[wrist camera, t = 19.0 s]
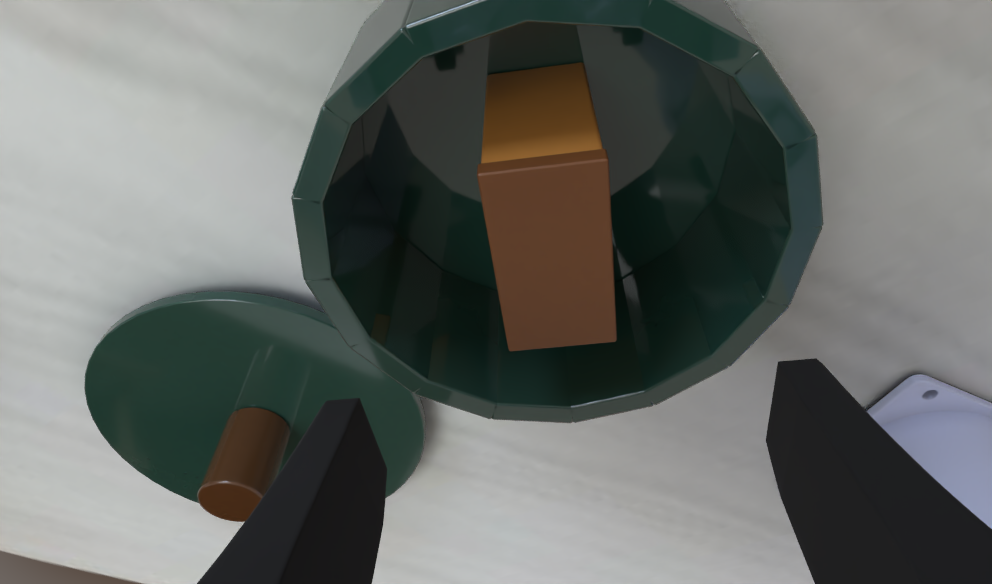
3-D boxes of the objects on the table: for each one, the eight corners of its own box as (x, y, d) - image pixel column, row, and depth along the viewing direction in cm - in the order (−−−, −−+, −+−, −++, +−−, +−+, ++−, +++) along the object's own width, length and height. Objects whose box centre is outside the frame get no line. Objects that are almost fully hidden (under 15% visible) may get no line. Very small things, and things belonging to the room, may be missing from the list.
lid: (479, 353, 26) (474, 452, 22) (367, 527, 33) (350, 621, 30) (118, 226, 22) (46, 318, 19) (83, 450, 30) (26, 546, 26)
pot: (846, 50, 18) (946, 149, 14) (611, 341, 25) (632, 467, 21) (435, -181, 15) (406, -145, 11) (293, 221, 22) (241, 339, 18)
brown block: (596, 220, 21) (617, 342, 17) (508, 230, 22) (508, 352, 17) (586, 58, 18) (608, 159, 14) (484, 72, 19) (476, 174, 14)
